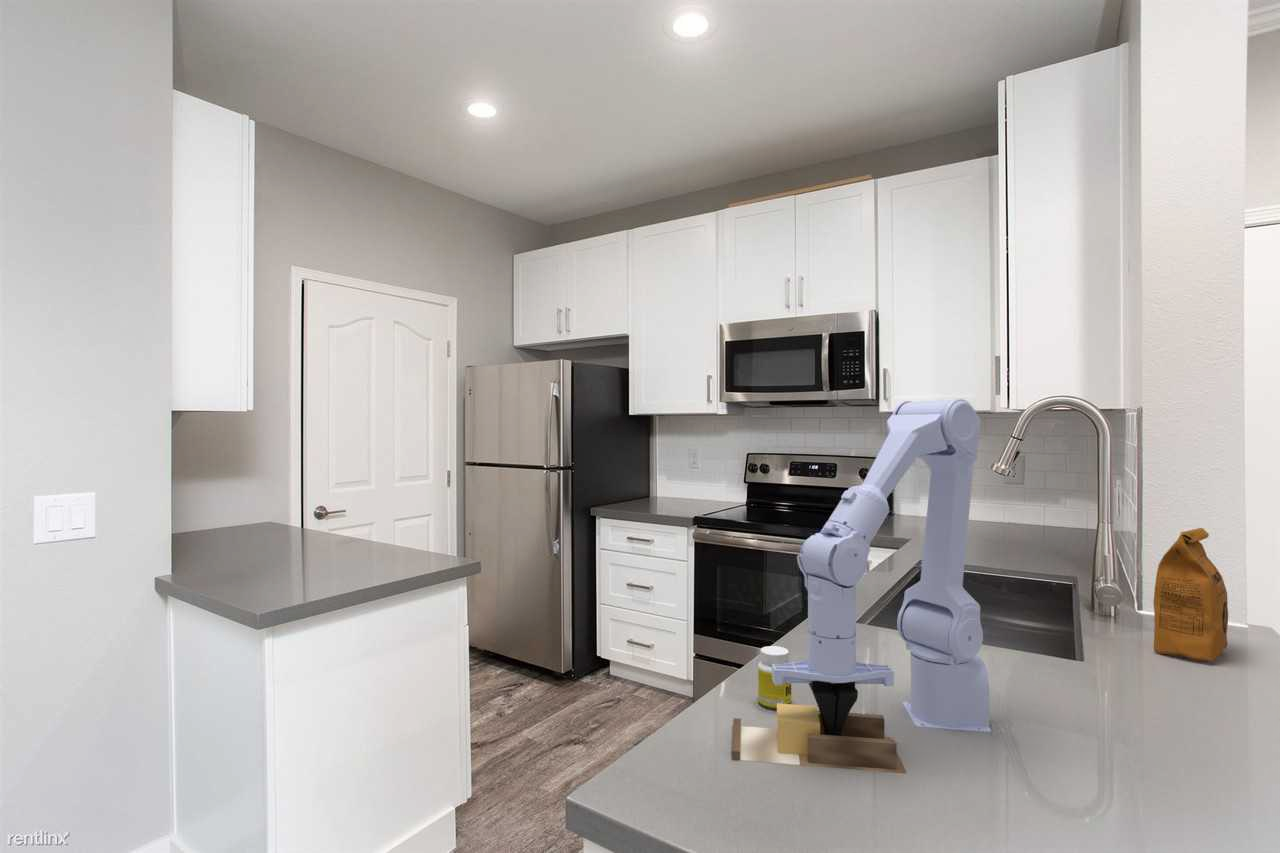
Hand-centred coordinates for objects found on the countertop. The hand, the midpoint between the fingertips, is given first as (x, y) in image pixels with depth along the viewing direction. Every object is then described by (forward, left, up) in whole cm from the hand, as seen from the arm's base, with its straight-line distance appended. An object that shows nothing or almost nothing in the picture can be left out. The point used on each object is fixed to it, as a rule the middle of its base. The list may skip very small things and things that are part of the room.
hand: (832, 741), depth 81 cm
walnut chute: (+2, 0, -1) cm, 3 cm away
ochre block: (+4, 0, -1) cm, 4 cm away
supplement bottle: (+6, -12, -2) cm, 14 cm away
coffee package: (-68, -47, -2) cm, 82 cm away
